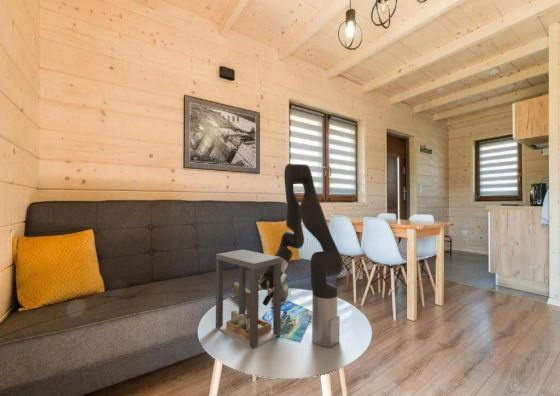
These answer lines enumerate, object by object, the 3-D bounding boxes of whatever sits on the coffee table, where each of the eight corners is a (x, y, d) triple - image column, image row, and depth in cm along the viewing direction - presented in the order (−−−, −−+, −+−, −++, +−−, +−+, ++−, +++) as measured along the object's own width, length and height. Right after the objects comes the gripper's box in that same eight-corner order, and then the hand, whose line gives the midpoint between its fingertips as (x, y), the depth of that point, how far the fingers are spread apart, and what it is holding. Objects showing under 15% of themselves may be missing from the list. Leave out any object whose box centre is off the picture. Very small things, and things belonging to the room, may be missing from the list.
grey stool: (280, 334, 107) (281, 257, 107) (253, 348, 97) (254, 263, 97) (242, 316, 123) (242, 249, 123) (215, 327, 112) (216, 254, 112)
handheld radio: (238, 293, 152) (260, 309, 131) (233, 295, 150) (254, 311, 129) (238, 281, 152) (260, 295, 131) (232, 283, 150) (253, 297, 129)
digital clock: (278, 290, 157) (278, 272, 157) (293, 292, 154) (293, 273, 154) (266, 300, 142) (266, 280, 142) (282, 303, 139) (282, 282, 139)
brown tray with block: (271, 329, 110) (271, 294, 110) (250, 340, 101) (250, 302, 101) (247, 318, 119) (247, 286, 119) (226, 327, 111) (226, 293, 111)
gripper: (260, 261, 125) (240, 293, 116) (284, 266, 115) (264, 301, 107) (268, 270, 129) (250, 302, 120) (292, 276, 119) (273, 311, 111)
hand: (256, 301), depth 113 cm, fingers open, 8 cm apart
